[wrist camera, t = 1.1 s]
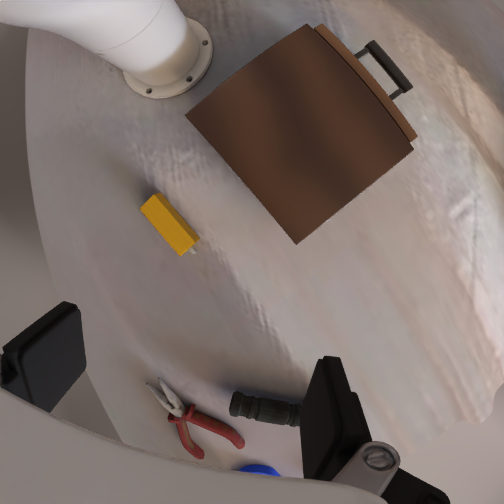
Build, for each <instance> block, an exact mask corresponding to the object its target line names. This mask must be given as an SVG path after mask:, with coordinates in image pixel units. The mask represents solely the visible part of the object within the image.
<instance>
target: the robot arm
mask: <svg viewBox="0 0 504 504" xmlns="http://www.w3.org/2000/svg"><path fill="white" fill-rule="evenodd" d="M0 22H1V23H4V24H8V25H14V26H20V27H27V28H35V29H41V30H46V31H49V32H53V33H56V34H58V35H61V36H63V37H65V38H67V39H69V40H71V41H73V42H75V43H77V44H79V45H81V46H82V47H84V48H86V49H87V50H89V51H91V52H93V53H95V54H96V55H98V56H100V57H101V58H103V59H105V60H107V61H108V62H110V63H112V64H113V65H115V66H117V67H118V68H120V69H122V71H123V75H124V78H125V81H126V82H127V84H128V85H129V86H130V87H131V88H132V89H133V90H134V91H135V92H137V93H139V94H140V95H143V96H145V97H148V98H154V99H164V98H169V97H173V96H176V95H179V94H181V93H183V92H185V91H187V90H188V89H190V88H191V87H193V86H194V85H195V84H196V83H197V82H198V81H199V80H200V79H201V78H202V77H203V76H204V74H205V73H206V71H207V70H208V67H209V65H210V63H211V60H212V55H213V45H212V41H211V38H210V36H209V33H208V32H207V30H206V29H205V28H204V27H203V26H202V25H201V24H200V23H199V22H197V21H195V20H193V19H191V18H187V17H184V15H183V13H182V12H181V10H180V8H179V7H178V5H177V4H176V2H175V0H0ZM205 44H208V45H206V46H205ZM191 79H192V81H191V82H189V80H191ZM150 91H152V92H151V93H150ZM3 351H4V353H3V354H2V355H1V354H0V504H450V500H449V498H448V496H446V494H445V493H444V492H442V491H441V490H439V489H438V488H436V487H433V486H432V485H430V484H428V483H426V482H424V481H422V480H420V479H419V478H417V477H415V476H413V475H411V474H409V473H408V472H406V471H404V470H402V469H400V468H399V465H400V456H399V454H398V452H397V451H396V450H395V449H394V448H393V447H392V446H390V445H389V444H386V443H384V442H379V441H372V438H371V435H370V432H369V429H368V425H367V422H366V419H365V416H364V413H363V410H362V407H361V404H360V401H359V398H358V395H357V393H355V392H351V390H350V387H349V383H348V380H347V377H346V374H345V371H344V368H343V365H342V362H341V359H340V357H332V356H324V357H323V359H318V361H317V364H316V367H315V370H314V373H313V376H312V379H311V381H310V384H309V387H308V390H307V393H306V396H305V398H304V401H303V404H302V407H301V409H300V414H299V423H300V435H301V448H302V461H303V474H304V479H302V478H293V477H282V476H272V475H263V474H255V473H248V472H241V471H235V470H228V469H222V468H217V467H211V466H206V465H201V464H197V463H192V462H188V461H183V460H179V459H175V458H171V457H167V456H164V455H160V454H156V453H153V452H149V451H146V450H143V449H139V448H136V447H133V446H130V445H127V444H124V443H121V442H118V441H115V440H112V439H109V438H106V437H104V436H101V435H99V434H96V433H94V432H91V431H89V430H86V429H84V428H81V427H79V426H77V425H74V424H72V423H70V422H67V421H65V420H63V419H61V418H59V417H57V416H54V415H52V414H50V412H51V411H52V410H53V408H54V407H55V406H56V405H57V403H58V402H59V401H60V400H61V398H62V397H63V396H64V395H65V394H66V392H67V391H68V390H69V389H70V387H71V386H72V385H73V384H74V383H75V381H76V380H77V379H78V378H79V377H80V375H81V374H82V373H83V372H84V370H85V368H86V356H85V349H84V341H83V332H82V322H81V312H80V310H79V309H78V307H77V305H76V304H72V303H69V302H66V301H63V302H61V303H60V304H59V305H57V306H56V307H54V308H53V309H52V310H50V311H49V312H48V313H46V314H45V315H44V316H42V317H41V318H40V319H38V320H37V321H36V322H34V323H33V324H32V325H30V326H29V327H28V328H26V329H25V330H24V331H22V332H21V333H20V334H19V335H17V336H16V337H15V338H13V339H12V340H11V341H10V342H9V343H7V344H6V345H5V346H3Z"/></svg>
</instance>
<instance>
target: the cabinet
mask: <svg viewBox="0 0 504 504" xmlns="http://www.w3.org/2000/svg"><path fill="white" fill-rule="evenodd" d="M185 116H186V117H187V118H188V120H189V121H190V122H191V123H192V124H193V125H194V126H195V127H196V128H197V130H198V131H199V132H200V133H201V134H202V135H203V136H204V137H205V138H206V140H207V141H208V142H209V143H210V144H211V145H212V146H213V148H214V149H215V150H216V151H217V152H218V153H219V154H220V155H221V157H222V158H223V159H224V160H225V161H226V162H227V163H228V165H229V166H230V167H231V168H232V169H233V170H234V172H235V173H236V174H237V175H238V176H239V177H240V179H241V180H242V181H243V182H244V183H245V184H246V186H247V187H248V188H249V189H250V190H251V191H252V193H253V194H254V195H255V196H256V197H257V198H258V200H259V201H260V202H261V203H262V204H263V206H264V207H265V208H266V209H267V210H268V212H269V213H270V214H271V215H272V216H273V217H274V219H275V220H276V221H277V222H278V224H279V225H280V226H281V227H282V228H283V230H284V231H285V232H286V233H287V234H288V236H289V237H290V238H291V239H292V240H293V242H294V243H295V244H296V245H297V244H299V243H300V242H301V241H302V240H304V239H305V238H306V237H307V236H309V235H310V234H311V233H312V232H314V231H315V230H316V229H317V228H319V227H320V226H321V225H322V224H324V223H325V222H326V221H327V220H329V219H330V218H331V217H332V216H334V215H335V214H336V213H337V212H339V211H340V210H341V209H342V208H344V207H345V206H346V205H347V204H349V203H350V202H351V201H352V200H353V199H355V198H356V197H357V196H358V195H360V194H361V193H362V192H363V191H365V190H366V189H367V188H368V187H369V186H371V185H372V184H373V183H374V182H376V181H377V180H378V179H379V178H380V177H382V176H383V175H384V174H385V173H386V172H388V171H389V170H390V169H391V168H393V167H394V166H395V165H396V164H397V163H399V162H400V161H401V160H402V159H403V158H405V157H406V156H407V155H408V154H409V153H411V152H412V151H413V150H414V148H413V147H412V145H411V144H410V143H409V141H408V140H407V138H406V137H405V135H404V134H403V132H402V131H401V130H400V128H399V127H398V125H397V124H396V123H395V121H394V120H393V119H392V117H391V116H390V115H389V113H388V112H387V111H386V109H385V108H384V107H383V106H382V104H381V103H380V102H379V100H378V99H377V98H376V97H375V95H374V94H373V93H372V92H371V91H370V89H369V88H368V87H367V86H366V85H365V83H364V82H363V81H362V80H361V79H360V78H359V76H358V75H357V74H356V73H355V72H354V71H353V70H352V68H351V67H350V66H349V65H348V64H347V63H346V62H345V61H344V60H343V59H342V58H341V57H340V55H339V54H338V53H337V52H336V51H335V50H334V49H333V48H332V47H331V46H330V45H329V44H328V43H327V42H326V41H325V40H324V39H323V38H322V37H321V36H320V35H319V34H318V33H317V32H316V31H315V30H314V29H313V28H312V27H310V26H309V25H308V24H305V25H304V26H302V27H301V28H299V29H297V30H296V31H294V32H293V33H291V34H290V35H288V36H287V37H285V38H283V39H282V40H281V41H279V42H278V43H276V44H275V45H273V46H272V47H270V48H269V49H267V50H266V51H265V52H263V53H262V54H260V55H259V56H258V57H256V58H255V59H253V60H252V61H251V62H249V63H248V64H247V65H245V66H244V67H243V68H241V69H240V70H239V71H237V72H236V73H235V74H234V75H232V76H231V77H230V78H228V79H227V80H226V81H225V82H223V83H222V84H221V85H220V86H218V87H217V88H216V89H215V90H214V91H212V92H211V93H210V94H209V95H208V96H206V97H205V98H204V99H203V100H202V101H201V102H199V103H198V104H197V105H196V106H195V107H194V108H192V109H191V110H190V111H189V112H188V113H187V114H186V115H185Z"/></svg>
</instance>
